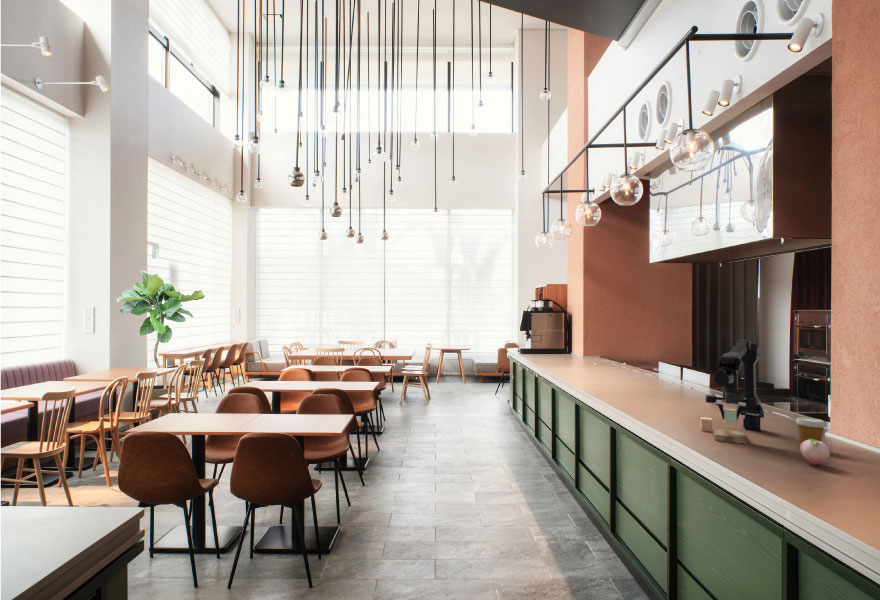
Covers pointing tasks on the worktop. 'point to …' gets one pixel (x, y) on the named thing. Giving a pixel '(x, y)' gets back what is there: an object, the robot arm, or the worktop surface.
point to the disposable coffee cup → (809, 428)
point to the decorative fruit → (814, 451)
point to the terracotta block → (706, 424)
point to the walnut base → (730, 436)
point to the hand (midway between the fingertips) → (729, 420)
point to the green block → (730, 416)
